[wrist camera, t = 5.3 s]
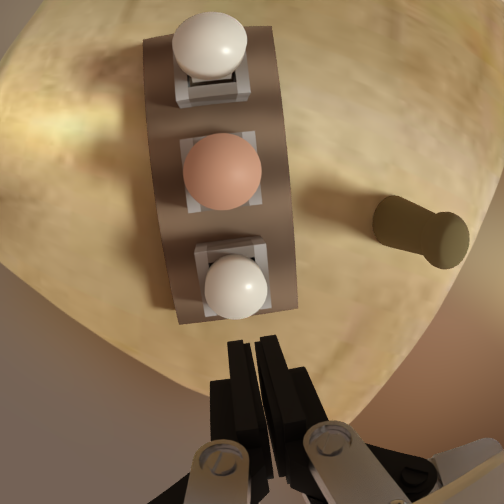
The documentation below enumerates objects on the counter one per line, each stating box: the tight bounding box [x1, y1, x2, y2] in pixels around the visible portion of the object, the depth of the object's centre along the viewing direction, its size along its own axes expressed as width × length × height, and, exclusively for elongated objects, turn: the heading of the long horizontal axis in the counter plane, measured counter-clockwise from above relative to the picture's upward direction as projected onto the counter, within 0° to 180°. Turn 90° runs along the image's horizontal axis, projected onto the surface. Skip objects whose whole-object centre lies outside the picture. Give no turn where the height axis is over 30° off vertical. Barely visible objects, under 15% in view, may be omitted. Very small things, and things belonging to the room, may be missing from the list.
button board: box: [143, 26, 298, 325], centre depth 25 cm, size 28×12×6 cm, turn 6°
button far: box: [205, 254, 267, 319], centre depth 25 cm, size 5×5×5 cm
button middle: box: [183, 133, 262, 210], centre depth 20 cm, size 5×5×5 cm
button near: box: [172, 12, 247, 83], centre depth 17 cm, size 5×5×5 cm
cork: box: [373, 196, 470, 269], centre depth 26 cm, size 6×6×11 cm
